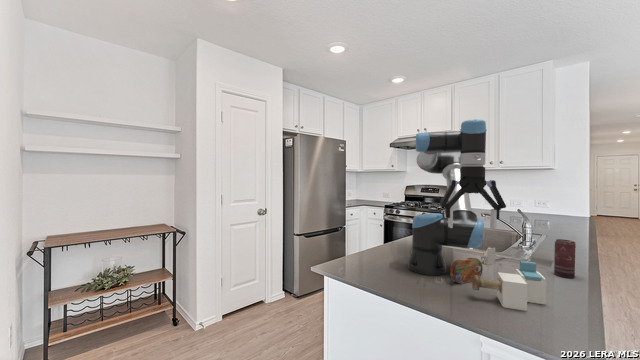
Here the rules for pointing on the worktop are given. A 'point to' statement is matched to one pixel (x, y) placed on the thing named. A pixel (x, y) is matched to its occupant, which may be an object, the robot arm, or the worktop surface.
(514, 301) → the cream block
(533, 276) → the teal toy chair
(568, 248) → the can
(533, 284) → the block
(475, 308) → the worktop surface
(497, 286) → the pin
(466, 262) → the tin
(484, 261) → the architectural model
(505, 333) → the worktop surface
